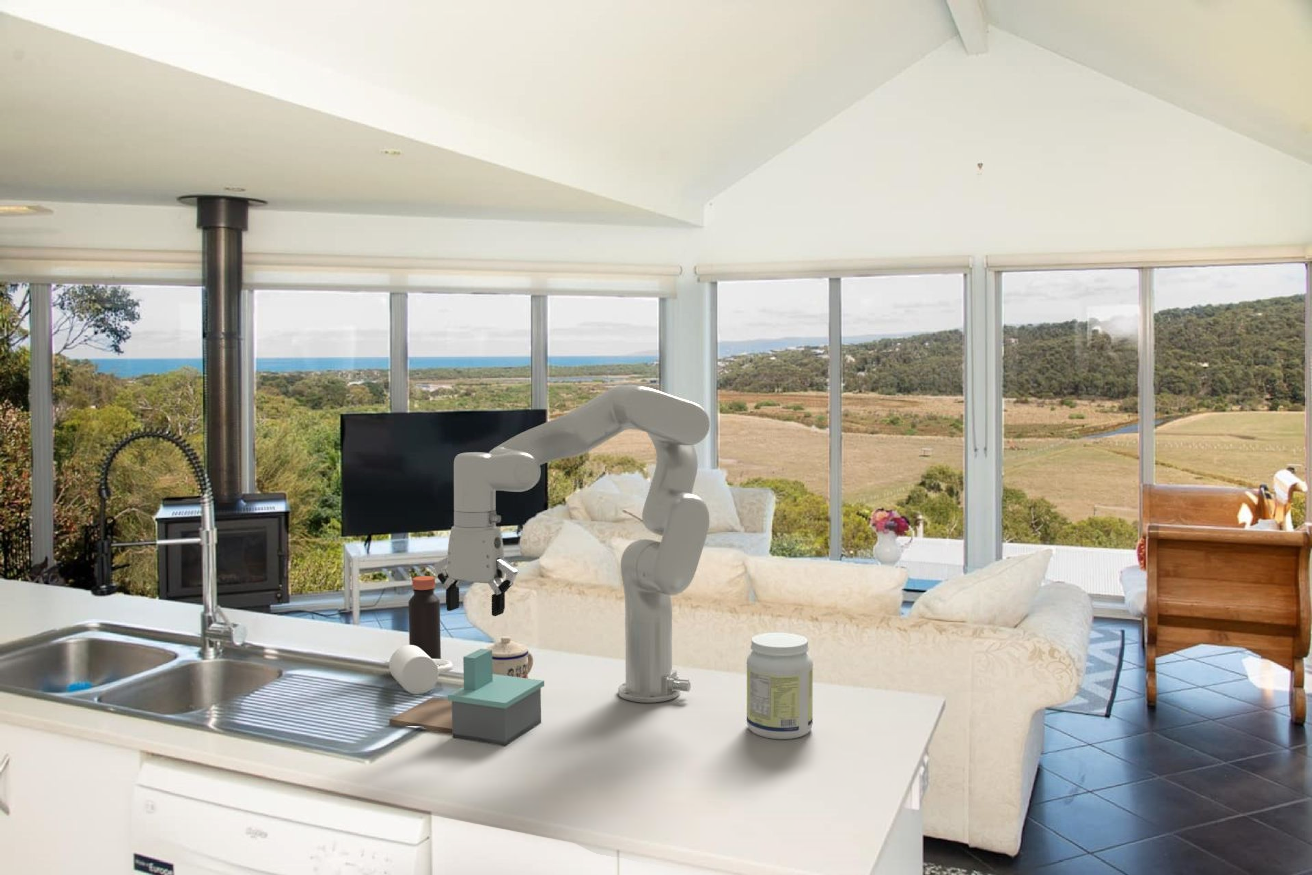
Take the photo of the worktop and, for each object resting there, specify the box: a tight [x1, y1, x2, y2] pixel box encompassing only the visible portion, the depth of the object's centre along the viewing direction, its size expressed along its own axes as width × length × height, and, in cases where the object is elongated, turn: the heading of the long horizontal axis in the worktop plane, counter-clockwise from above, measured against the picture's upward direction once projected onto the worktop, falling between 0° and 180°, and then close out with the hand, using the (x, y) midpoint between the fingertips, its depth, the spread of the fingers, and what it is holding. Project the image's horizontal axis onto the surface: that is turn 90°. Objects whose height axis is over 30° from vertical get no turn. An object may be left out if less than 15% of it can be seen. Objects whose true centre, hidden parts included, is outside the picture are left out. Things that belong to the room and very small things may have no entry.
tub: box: [451, 687, 542, 747], centre depth 194 cm, size 11×13×7 cm
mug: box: [388, 644, 454, 695], centre depth 220 cm, size 12×10×8 cm
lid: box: [447, 648, 545, 709], centre depth 193 cm, size 12×14×8 cm
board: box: [389, 696, 453, 735], centre depth 201 cm, size 14×14×1 cm
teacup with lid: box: [485, 635, 534, 679], centre depth 217 cm, size 12×9×12 cm
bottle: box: [408, 575, 442, 659], centre depth 234 cm, size 7×7×20 cm
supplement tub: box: [746, 632, 814, 740], centre depth 193 cm, size 12×12×17 cm
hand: (475, 611), depth 194 cm, fingers open, 9 cm apart
